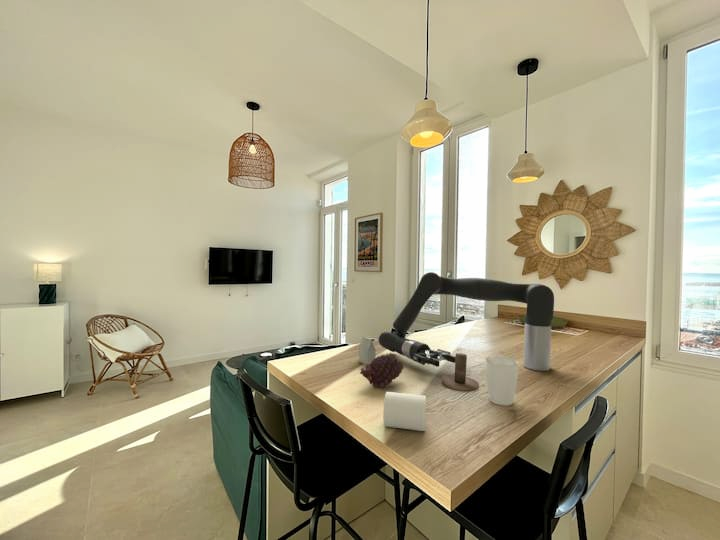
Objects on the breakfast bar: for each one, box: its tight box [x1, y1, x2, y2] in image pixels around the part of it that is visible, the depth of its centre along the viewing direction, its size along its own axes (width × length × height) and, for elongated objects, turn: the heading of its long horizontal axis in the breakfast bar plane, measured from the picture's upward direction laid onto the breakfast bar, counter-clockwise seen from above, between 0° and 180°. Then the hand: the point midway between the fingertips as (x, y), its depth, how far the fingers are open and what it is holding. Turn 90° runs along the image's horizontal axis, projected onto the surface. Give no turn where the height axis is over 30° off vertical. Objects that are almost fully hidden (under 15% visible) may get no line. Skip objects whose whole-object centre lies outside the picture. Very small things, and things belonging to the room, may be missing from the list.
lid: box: [441, 352, 480, 392], centre depth 106 cm, size 12×12×10 cm
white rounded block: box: [382, 391, 427, 432], centre depth 79 cm, size 12×10×8 cm
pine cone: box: [359, 354, 405, 388], centre depth 103 cm, size 18×10×10 cm, turn 126°
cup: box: [484, 356, 519, 407], centre depth 93 cm, size 9×9×12 cm
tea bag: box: [358, 336, 377, 366], centre depth 126 cm, size 4×7×10 cm, turn 30°
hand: (447, 361), depth 110 cm, fingers open, 8 cm apart
